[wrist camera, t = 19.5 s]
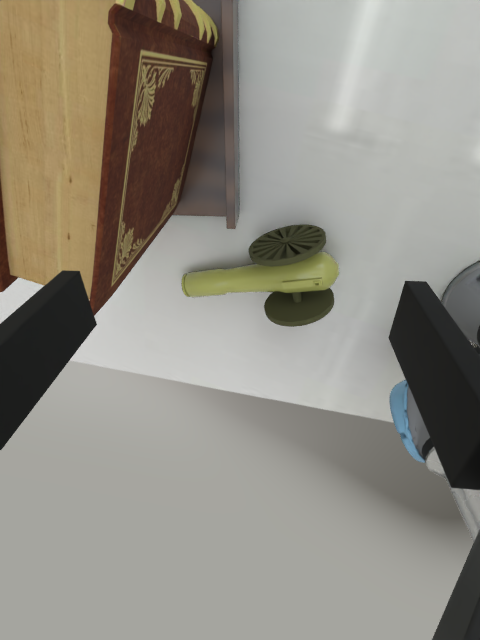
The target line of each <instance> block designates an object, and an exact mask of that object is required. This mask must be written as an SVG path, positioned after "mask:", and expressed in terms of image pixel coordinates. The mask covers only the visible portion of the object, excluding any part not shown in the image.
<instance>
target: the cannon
mask: <svg viewBox="0 0 480 640" xmlns="http://www.w3.org/2000/svg"><path fill="white" fill-rule="evenodd" d="M325 243H326V236H325V232H324V230H323V229H321V228H319V227H317V226H313V225H294V226H288V227H283V228H279V229H276V230H273V231H271V232H269V233H266V234H264V235H263V236H261V237H259V238H258V239H256V240H255V241H254V242H253V243H252V244H251V246H250V248H249V254H250V258H251V260H252V261H253V262H254V263H256V264H252V265H247V266H241V267H236V268H231V269H222V268H220V269H212V270H204V271H196V272H189V273H188V274H184V275H183V277H182V290H183V292H184V294H185V295H186V296H187V297H204V296H215V295H225V294H227V293H237V292H273V293H272V294H271V295H270V296H269V297H268V298H267V300H266V302H265V305H264V308H265V313H266V315H267V317H268V318H269V319H270V321H272V322H274V323H275V324H278V325H282V326H293V327H294V326H302V325H307V324H310V323H313V322H316V321H318V320H320V319H321V318H323V317H324V316H326V315H327V314H328V313H329V312H330V311H331V309H332V307H333V305H334V295H333V292H332V290H331V289H330V287H331V286H332V285H333V284H334V283H335V281H336V279H337V277H338V275H339V265H338V263H337V262H336V261H335V260H334V258H333V257H332V256H331V255H329V254H328V253H326V252H319V251H320V250H322V248H323V247H324V246H325Z"/></svg>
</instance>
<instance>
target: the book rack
mask: <svg viewBox="0 0 480 640" xmlns="http://www.w3.org/2000/svg"><path fill="white" fill-rule="evenodd" d="M192 1H193V2H194V3H195V4H196V5H197V6H199V7H200V8H201V9H202V10H203V11H204V12H205V13H206V14H207V15H208V16H210V17H211V19H212V20H213V22H214V24H215V25H216V27H217V29H218V35H219V40H218V43H217V45H216V47H215V48H214V49H213V50H212V51H211V55H212V57H213V62H212V66H211V70H210V75H209V79H208V84H207V88H206V92H205V97H204V101H203V106H202V110H201V115H200V119H199V123H198V128H197V132H196V137H195V141H194V145H193V150H192V154H191V159H190V163H189V167H188V172H187V176H186V180H185V184H184V188H183V191H182V195H181V198H180V201H179V204H178V206H177V208H176V210H175V212H174V213H173V215H193V216H227V229H235V228H236V224H237V220H238V217H239V76H238V0H192Z"/></svg>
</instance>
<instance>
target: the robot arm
mask: <svg viewBox="0 0 480 640" xmlns="http://www.w3.org/2000/svg"><path fill="white" fill-rule="evenodd" d="M96 325H97V324H96V321H95V318H94V314H93V311H92V308H91V305H90V302H89V299H88V296H87V292H86V289H85V286H84V283H83V280H82V277H81V273H80V271H66V270H62V271H61V272H60V273H59V274H58V275H56V276H55V277H54V278H53V279H52V280H51V281H50V282H48V283H47V284H46V285H45V286H44V287H43V288H41V289H40V290H39V291H38V292H37V293H36V294H34V295H33V296H32V297H31V298H30V299H29V300H27V301H26V302H25V303H24V304H23V305H22V306H21V307H19V308H18V309H17V310H16V311H15V312H14V313H12V314H11V315H10V316H9V317H8V318H7V319H5V320H4V321H3V322H2V323H1V324H0V450H1V449H2V448H3V447H4V446H5V444H6V443H7V441H8V440H9V439H10V438H11V436H12V435H13V434H14V432H15V431H16V430H17V428H18V427H19V426H20V424H21V423H22V422H23V421H24V419H25V418H26V417H27V415H28V414H29V413H30V411H31V410H32V409H33V407H34V406H35V405H36V403H37V402H38V401H39V400H40V398H41V397H42V396H43V394H44V393H45V392H46V390H47V389H48V388H49V386H50V385H51V384H52V382H53V381H54V380H55V379H56V377H57V376H58V375H59V373H60V372H61V371H62V369H63V368H64V367H65V365H66V364H67V363H68V361H69V360H70V359H71V357H72V356H73V355H74V354H75V352H76V351H77V350H78V348H79V347H80V346H81V344H82V343H83V342H84V340H85V339H86V338H87V336H88V335H89V334H90V333H91V331H92V330H93V329H94V327H95V326H96ZM389 340H390V342H391V345H392V347H393V349H394V352H395V354H396V357H397V359H398V362H399V364H400V366H401V369H402V371H403V374H404V376H405V378H406V380H404V381H402V382H400V383H398V384H397V385H395V387H394V388H393V389H392V391H391V393H390V409H391V414H392V417H393V421H394V424H395V427H396V429H397V431H398V433H400V435H401V440H402V442H403V444H404V446H405V447H406V449H407V450H408V452H409V453H410V454H411V456H412V457H413V458H414V459H416V460H417V461H419V462H424V463H426V465H427V467H428V469H429V470H430V471H432V472H433V473H435V474H437V475H439V476H441V477H443V478H445V479H446V481H447V483H448V486H449V487H450V490H451V492H452V495H453V497H454V499H455V501H456V504H457V506H458V508H459V510H460V513H461V515H462V517H463V519H464V522H465V524H466V526H467V529H468V531H469V533H470V535H471V538H472V540H473V542H474V543H473V546H472V548H471V550H470V553H469V555H468V557H467V560H466V562H465V564H464V567H463V569H462V572H461V574H460V576H459V578H458V581H457V583H456V585H455V588H454V590H453V592H452V595H451V597H450V599H449V601H448V604H447V606H446V609H445V611H444V613H443V615H442V618H441V620H440V622H439V625H438V627H437V629H436V632H435V634H434V636H433V639H432V640H480V261H479V262H477V263H475V264H473V265H471V266H470V267H468V268H467V269H465V270H464V271H463V272H461V273H460V274H459V275H458V276H457V277H456V278H455V279H454V280H453V281H452V282H451V284H450V285H449V286H448V288H447V290H446V291H445V294H444V296H443V299H442V303H441V302H440V300H439V299H438V297H437V296H436V295H435V293H434V292H433V291H432V289H431V288H430V286H429V285H428V284H427V282H420V281H405V284H404V287H403V291H402V294H401V297H400V301H399V304H398V308H397V311H396V314H395V318H394V321H393V325H392V328H391V331H390V335H389ZM468 340H470V341H472V342H474V343H475V344H477V345H479V346H477V347H475V348H474V347H473V346H472V345H471V343H470V342H469V341H468Z"/></svg>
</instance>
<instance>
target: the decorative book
mask: <svg viewBox="0 0 480 640" xmlns="http://www.w3.org/2000/svg"><path fill="white" fill-rule="evenodd" d="M218 40H219V35H218V29H217V27H216V25H215V24H214V22H213V20H212V19H211V17H210V16H208V15H207V14H206V13H205V12H204V11H203V10H202V9H201V8H200V7H199V6H197V5H196V4H195V3H194V2H193V1H192V0H0V292H3V291H4V290H5V289H6V288H7V287H9V286H10V285H11V284H12V283H13V282H14V281H15V280H16V279H17V278H18V277H19V278H23V279H26V280H29V281H32V282H35V283H39V284H42V285H46V284H47V283H48V282H50V281H51V280H52V279H53V278H54V277H55V276H56V275H58V274H59V273H60V272H61V271H62V270H66V271H80V273H81V277H82V280H83V283H84V286H85V289H86V292H87V296H88V299H89V302H90V305H91V308H92V311H93V314H94V315H95V314H96V313H97V312H98V311H99V310H100V309H101V308H102V306H103V305H104V304H105V303H106V302H107V301H108V299H109V298H110V297H111V296H112V295H113V293H114V292H115V291H116V290H117V288H118V287H119V286H120V284H121V283H122V282H123V280H124V279H125V278H126V276H127V275H128V274H129V272H130V271H131V269H132V268H133V267H134V265H135V264H136V263H137V261H138V260H139V259H140V257H141V256H142V255H143V253H144V252H145V251H146V249H147V248H148V247H149V245H150V244H151V243H152V241H153V240H154V239H155V237H156V236H157V235H158V233H159V232H160V231H161V229H162V228H163V227H164V225H165V224H166V223H167V221H168V220H169V219H170V217H171V216H172V215H173V213H174V212H175V210H176V208H177V206H178V204H179V201H180V198H181V195H182V191H183V188H184V184H185V180H186V176H187V172H188V167H189V163H190V159H191V154H192V150H193V145H194V141H195V137H196V132H197V128H198V123H199V119H200V115H201V110H202V106H203V101H204V97H205V92H206V88H207V84H208V79H209V75H210V70H211V66H212V62H213V57H212V55H211V51H212V50H213V49H214V48H215V47H216V45H217V43H218Z"/></svg>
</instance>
